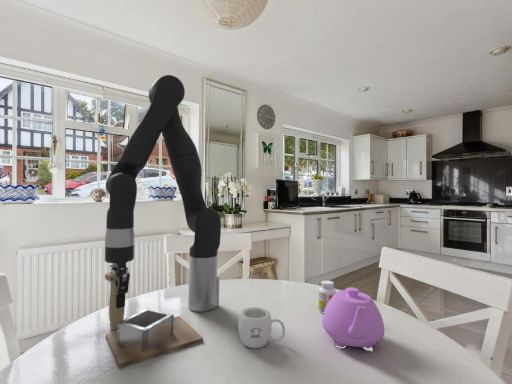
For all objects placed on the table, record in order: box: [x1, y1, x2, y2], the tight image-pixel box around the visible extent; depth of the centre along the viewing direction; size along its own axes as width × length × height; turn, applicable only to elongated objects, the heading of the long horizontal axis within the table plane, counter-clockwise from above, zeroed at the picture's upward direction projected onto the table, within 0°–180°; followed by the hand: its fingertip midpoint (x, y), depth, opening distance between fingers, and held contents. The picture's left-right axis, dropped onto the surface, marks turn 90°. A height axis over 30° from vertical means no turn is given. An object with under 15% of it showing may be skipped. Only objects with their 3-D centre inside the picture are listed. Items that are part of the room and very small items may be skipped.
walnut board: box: [105, 315, 204, 369], centre depth 76 cm, size 20×16×1 cm
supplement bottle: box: [318, 280, 337, 313], centre depth 96 cm, size 5×5×10 cm
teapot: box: [321, 286, 386, 348], centre depth 77 cm, size 22×16×14 cm
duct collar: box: [116, 307, 175, 352], centre depth 75 cm, size 10×9×5 cm
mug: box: [238, 307, 286, 349], centre depth 75 cm, size 12×8×8 cm
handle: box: [104, 271, 131, 330], centre depth 83 cm, size 5×6×15 cm
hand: (118, 304), depth 83 cm, fingers closed on handle, 4 cm apart
